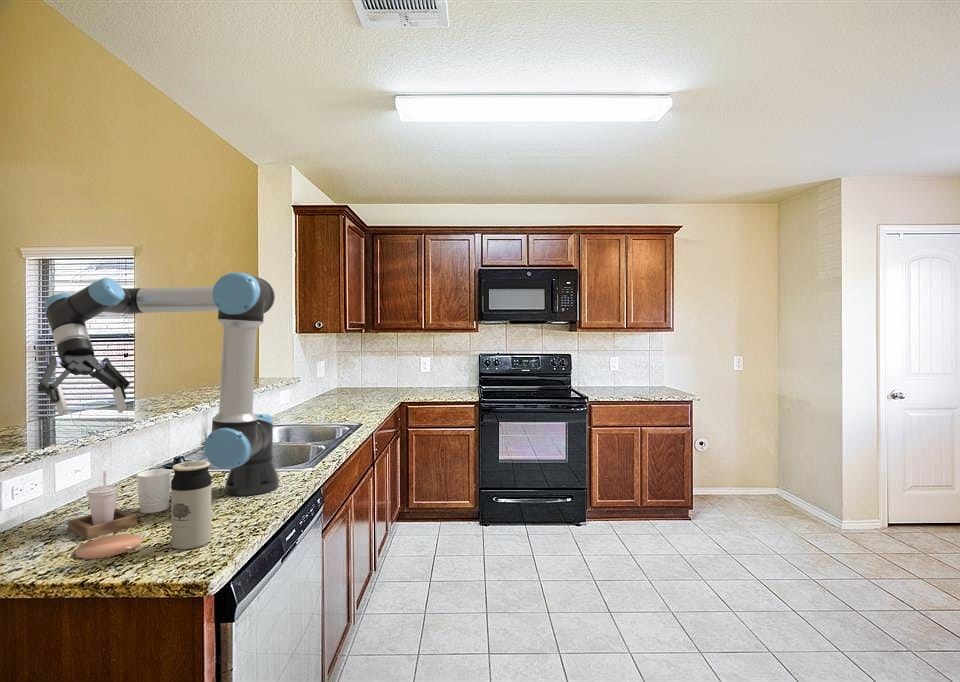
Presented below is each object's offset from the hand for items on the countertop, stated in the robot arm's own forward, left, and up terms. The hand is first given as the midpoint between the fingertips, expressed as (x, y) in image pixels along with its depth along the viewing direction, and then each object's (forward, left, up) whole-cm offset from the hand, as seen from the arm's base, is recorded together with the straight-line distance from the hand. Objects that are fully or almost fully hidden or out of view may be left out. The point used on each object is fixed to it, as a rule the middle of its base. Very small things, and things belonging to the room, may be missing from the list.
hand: (94, 411), depth 133 cm
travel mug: (-31, +20, -28) cm, 46 cm away
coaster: (-14, +20, -28) cm, 37 cm away
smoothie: (-6, +7, -28) cm, 29 cm away
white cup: (-12, -6, -28) cm, 31 cm away
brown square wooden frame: (-6, +7, -28) cm, 29 cm away
